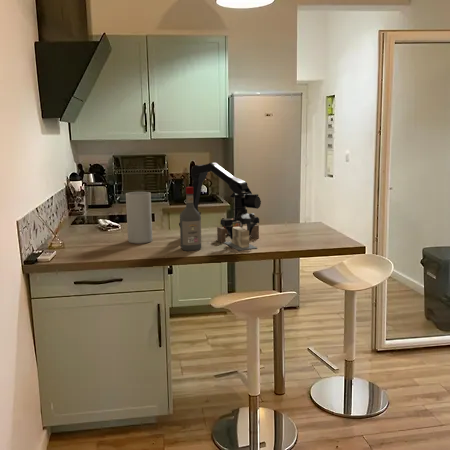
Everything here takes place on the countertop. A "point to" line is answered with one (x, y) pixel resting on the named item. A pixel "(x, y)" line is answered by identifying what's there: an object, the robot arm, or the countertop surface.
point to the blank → (240, 237)
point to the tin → (233, 226)
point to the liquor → (190, 224)
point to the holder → (222, 236)
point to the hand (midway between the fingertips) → (240, 238)
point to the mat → (240, 247)
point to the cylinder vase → (139, 217)
